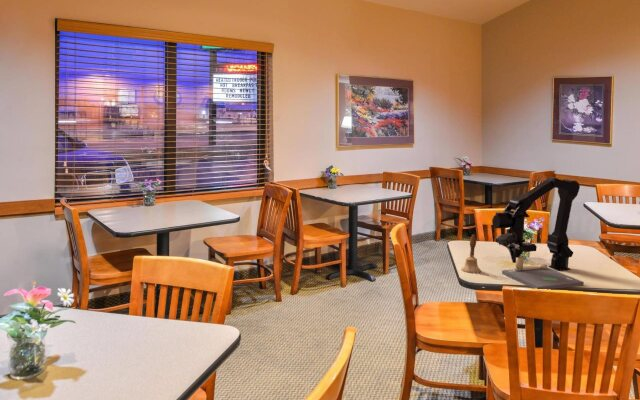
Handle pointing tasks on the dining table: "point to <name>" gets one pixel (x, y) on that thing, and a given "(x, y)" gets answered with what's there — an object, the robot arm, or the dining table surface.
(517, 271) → the grey flat square slab
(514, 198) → the robot arm
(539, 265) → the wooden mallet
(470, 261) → the hand bell
